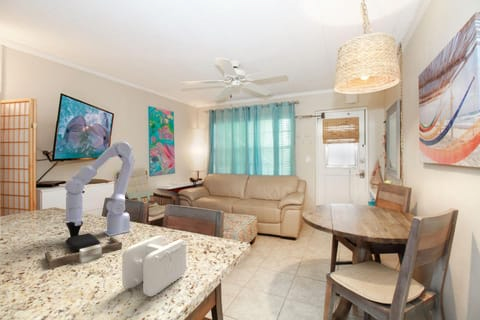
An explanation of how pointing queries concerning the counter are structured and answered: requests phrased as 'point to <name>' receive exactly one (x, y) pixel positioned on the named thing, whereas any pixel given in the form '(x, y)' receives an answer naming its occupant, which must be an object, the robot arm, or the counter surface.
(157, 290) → the cable organizer
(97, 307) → the counter surface
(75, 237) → the black rounded slab
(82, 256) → the charging dock
